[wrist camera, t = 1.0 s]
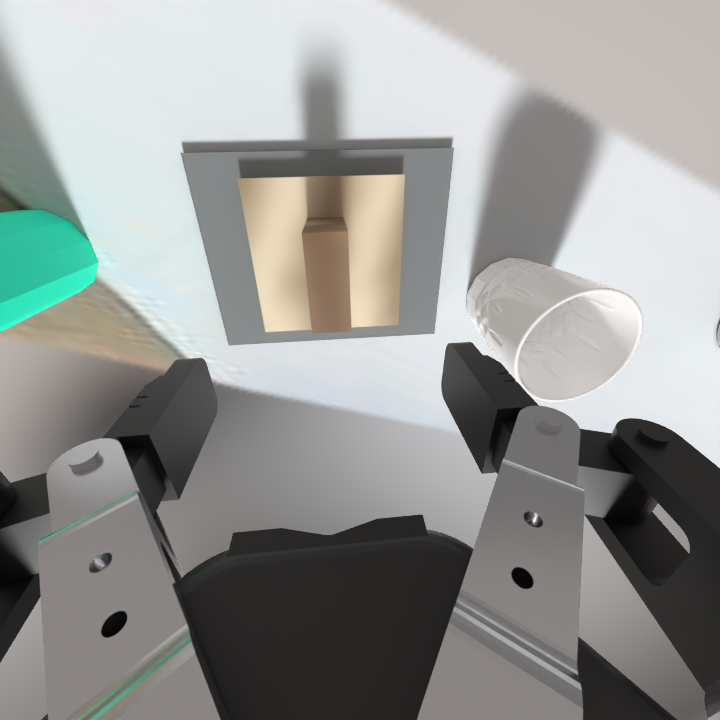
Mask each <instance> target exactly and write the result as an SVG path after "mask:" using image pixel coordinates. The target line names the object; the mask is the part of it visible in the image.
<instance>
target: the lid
mask: <svg viewBox="0 0 720 720" xmlns="http://www.w3.org/2000/svg"><path fill="white" fill-rule="evenodd" d="M238 185H239V190H240V196H241V201H242V207H243V212H244V218H245V223H246V228H247V234H248V239H249V245H250V250H251V256H252V261H253V267H254V272H255V278H256V283H257V289H258V294H259V300H260V305H261V311H262V316H263V322H264V327H265V332H278V331H296V330H312V334H313V333H331V332H349V331H352V329H351V327H370V326H388V325H398V323H399V300H400V277H401V254H402V231H403V208H404V185H405V174H392V175H351V176H309V177H268V178H238Z"/></svg>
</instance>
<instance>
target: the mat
mask: <svg viewBox="0 0 720 720" xmlns="http://www.w3.org/2000/svg"><path fill="white" fill-rule="evenodd" d="M453 151H454V148H413V149H360V150H307V151H254V152H201V153H181V156H182V160H183V164H184V168H185V172H186V176H187V180H188V184H189V188H190V192H191V196H192V200H193V204H194V208H195V212H196V216H197V220H198V224H199V228H200V232H201V236H202V240H203V244H204V248H205V252H206V256H207V260H208V264H209V268H210V272H211V276H212V280H213V284H214V288H215V292H216V296H217V300H218V304H219V308H220V312H221V316H222V320H223V324H224V328H225V332H226V336H227V340H228V344H229V345H241V344H259V343H277V342H294V341H312V340H330V339H347V338H365V337H383V336H400V335H418V334H434V331H435V322H436V312H437V303H438V293H439V284H440V274H441V265H442V255H443V246H444V236H445V227H446V217H447V208H448V198H449V189H450V179H451V170H452V160H453ZM392 174H405V185H404V208H403V231H402V254H401V277H400V300H399V323H398V325H388V326H370V327H351V329H352V331H349V332H331V333H313V334H312V330H296V331H278V332H265V327H264V322H263V316H262V311H261V305H260V300H259V294H258V289H257V283H256V278H255V272H254V267H253V261H252V256H251V250H250V245H249V239H248V234H247V228H246V223H245V218H244V212H243V207H242V201H241V196H240V190H239V185H238V178H268V177H309V176H351V175H392Z"/></svg>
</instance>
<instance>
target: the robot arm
mask: <svg viewBox="0 0 720 720" xmlns="http://www.w3.org/2000/svg"><path fill="white" fill-rule="evenodd" d="M717 341H718V344H719V347H720V324H719V328H718V332H717ZM441 387H442V395H443V398H444V400H445V402H446V404H447V406H448V408H449V410H450V412H451V414H452V416H453V418H454V420H455V422H456V424H457V426H458V428H459V430H460V432H461V434H462V436H463V438H464V440H465V442H466V444H467V446H468V447H469V449H470V451H471V453H472V455H473V457H474V459H475V461H476V463H477V465H478V467H479V469H480V471H481V473H482V474H483V473H494V472H497V474H498V476H497V479H496V482H495V485H494V488H493V491H492V494H491V497H490V501H489V503H488V506H487V509H486V512H485V516H484V519H483V522H482V525H481V528H480V531H479V534H478V537H477V540H476V543H475V546H474V549H473V548H471V547H470V546H468V545H467V544H465V543H463V542H461V541H459V540H458V539H456V538H453V537H451V536H448V535H446V534H443V533H439V532H436V531H432V530H426V526H425V522H424V519H423V515H412V516H402V517H392V518H381V519H376V520H373V521H370V522H367V523H365V524H362V525H359V526H356V527H353V528H351V529H348V530H345V531H342V532H340V533H336V534H333V535H321V534H314V533H308V532H302V531H295V530H288V529H283V528H280V529H269V530H258V531H247V532H237V533H233V536H232V540H231V544H230V548H229V550H227V551H224V552H222V553H220V554H218V555H216V556H213V557H211V558H210V559H208V560H206V561H204V562H203V563H201V564H199V565H198V566H196V567H195V568H194V569H192V570H191V571H190V572H188V573H187V574H186V575H184V573H183V571H182V568H181V566H180V564H179V562H178V559H177V557H176V555H175V552H174V550H173V548H172V545H171V543H170V540H169V538H168V536H167V533H166V531H165V528H164V526H163V524H162V521H161V519H160V517H159V515H158V513H157V511H156V510H157V508H158V506H159V504H160V502H161V501H168V500H179V499H180V496H181V494H182V492H183V489H184V487H185V485H186V483H187V480H188V478H189V475H190V473H191V471H192V469H193V467H194V464H195V462H196V460H197V458H198V455H199V453H200V451H201V448H202V446H203V444H204V442H205V439H206V437H207V435H208V432H209V430H210V428H211V426H212V423H213V421H214V419H215V417H216V413H217V397H216V394H215V391H214V387H213V384H212V381H211V377H210V374H209V371H208V367H207V364H206V362H205V360H204V359H202V358H194V359H178V360H176V361H175V362H174V363H173V364H172V365H171V367H170V368H169V369H168V371H167V372H166V373H165V374H164V376H159V377H158V378H156V379H155V380H153V381H152V382H150V383H149V384H147V385H146V386H145V387H144V388H143V389H142V390H141V392H140V393H139V394H138V395H137V399H134V401H132V403H131V404H130V405H129V408H127V409H126V410H125V411H124V412H123V414H122V415H121V416H120V417H119V419H118V420H117V421H116V422H115V423H114V425H113V426H112V427H111V428H110V430H109V431H108V432H107V433H106V434H105V436H104V437H103V438H102V439H97V440H92V441H89V442H86V443H83V444H81V445H79V446H76V447H74V448H73V449H71V450H69V451H67V452H66V453H64V454H63V455H62V456H60V457H59V458H58V459H57V460H56V461H55V462H54V463H53V464H52V465H51V466H50V468H49V469H48V472H47V473H44V474H40V475H37V476H34V477H30V478H26V479H23V480H20V481H16V482H13V483H10V482H9V481H8V479H7V478H6V477H5V476H4V475H3V473H2V472H0V662H1V661H2V659H3V657H4V656H5V654H6V652H7V651H8V649H9V647H10V646H11V644H12V642H13V641H14V639H15V638H16V636H17V634H18V633H19V631H20V629H21V628H22V626H23V624H24V622H25V621H26V619H27V618H28V616H29V614H30V613H31V611H32V610H33V608H34V606H35V605H36V603H37V601H38V600H39V598H40V597H41V609H42V624H43V625H42V626H43V641H44V658H45V673H46V691H47V706H48V714H47V715H46V716H45V717H44V718H43V719H42V720H677V719H676V718H675V717H673V716H672V715H671V714H670V713H669V712H667V711H666V710H665V709H664V708H662V707H661V706H660V705H659V704H658V703H656V701H654V700H653V699H652V698H651V697H650V696H648V695H647V694H646V693H645V692H643V691H642V690H641V689H640V688H639V687H638V686H636V685H635V684H634V683H633V682H632V681H631V680H629V679H628V678H627V677H626V676H625V675H623V674H622V673H621V672H620V671H618V669H616V668H615V667H614V666H613V665H612V664H610V663H609V662H608V661H607V660H606V659H605V658H603V657H602V656H601V655H600V654H599V653H597V652H596V651H595V650H594V649H593V648H591V647H590V646H589V645H588V644H587V643H586V642H584V641H583V640H582V639H581V638H580V637H578V630H579V608H580V587H581V586H580V585H581V565H582V544H583V524H584V515H585V516H586V517H587V519H588V520H589V522H590V523H591V525H592V526H593V528H594V529H595V531H596V532H597V534H598V535H599V537H600V538H601V540H602V541H603V542H604V544H605V545H606V547H607V548H608V550H609V551H610V553H611V554H612V556H613V557H614V559H615V560H616V562H617V563H618V565H619V566H620V567H621V569H622V571H623V572H624V573H625V575H626V577H627V578H628V579H629V581H630V582H631V584H632V585H633V587H634V588H635V590H636V591H637V593H638V594H639V595H640V597H641V599H642V600H643V602H644V603H645V605H646V606H647V608H648V609H649V610H650V612H651V613H652V615H653V616H654V618H655V619H656V621H657V622H658V624H659V625H660V627H661V628H662V630H663V631H664V632H665V634H666V636H667V637H668V638H669V640H670V641H671V643H672V644H673V646H674V647H675V649H676V650H677V652H678V653H679V655H680V656H681V658H682V659H683V661H684V662H685V663H686V665H687V667H688V668H689V669H690V671H691V672H692V674H693V675H694V677H695V678H696V680H697V681H698V683H699V684H700V686H701V687H702V689H703V690H704V692H705V694H704V706H705V711H706V715H707V718H708V720H720V468H719V467H717V466H716V465H715V464H714V463H712V462H711V461H710V460H709V459H708V458H706V457H705V456H704V455H703V454H701V453H700V452H699V451H698V450H696V449H695V448H694V447H693V446H692V445H690V444H689V443H688V442H687V441H685V440H684V439H683V438H682V437H680V436H679V435H678V434H676V433H675V432H673V431H672V430H670V429H668V428H666V427H664V426H661V425H659V424H656V423H654V422H650V421H647V420H642V419H632V418H629V419H623V420H621V421H619V422H618V423H617V424H616V426H615V428H614V431H613V433H605V432H598V431H591V430H584V429H580V428H579V426H578V424H577V423H576V422H575V421H574V420H573V419H572V418H571V417H569V416H568V415H566V414H564V413H563V412H560V411H558V410H556V409H553V408H549V407H544V406H539V405H538V404H537V403H536V402H535V401H534V400H533V399H532V398H531V396H530V395H529V394H528V393H527V392H526V391H525V390H524V389H523V388H522V386H521V385H520V384H519V383H518V382H516V381H515V379H514V377H513V376H512V375H511V374H509V372H508V371H507V370H506V368H505V367H504V366H503V365H502V364H501V363H500V362H498V361H496V360H495V359H493V358H491V357H489V356H488V355H484V356H483V355H482V354H481V353H480V352H479V350H478V349H477V348H476V347H475V346H474V344H473V343H471V342H463V343H449V344H448V345H447V347H446V351H445V359H444V367H443V375H442V383H441ZM658 503H659V504H660V505H661V506H662V508H663V509H664V510H665V511H666V512H667V513H668V514H669V515H670V516H671V517H672V518H673V520H674V521H675V522H676V523H677V524H678V525H679V526H680V527H681V528H682V530H683V531H684V532H685V534H686V536H687V538H688V540H689V544H690V553H688V552H687V551H686V550H685V549H684V548H683V546H682V545H681V544H680V543H679V542H678V541H677V540H676V538H675V537H674V536H673V535H672V534H671V533H670V532H669V530H668V529H667V528H666V527H665V526H664V525H663V524H662V522H661V521H660V520H659V519H658V518H657V517H656V516H655V514H653V512H652V511H653V510H654V508H655V507H656V505H657V504H658Z"/></svg>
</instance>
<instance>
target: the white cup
mask: <svg viewBox="0 0 720 720" xmlns="http://www.w3.org/2000/svg"><path fill="white" fill-rule="evenodd" d="M466 311H467V313H468V315H469V317H470V319H471V321H472V323H473V324H474V326H475V327H476V328H477V329H478V331H479V333H480V334H481V336H482V337H483V339H484V340H485V342H486V343H487V344H488V346H489V347H490V349H491V350H492V351H493V353H494V354H495V355H496V356H497V358H498V359H499V360H500V361H501V363H502V364H503V365H504V367H505V368H506V369H507V370H508V372H509V373H510V374H511V375H512V376H513V377H514V379H515V381H516V382H518V383H519V384H520V385H521V386H522V388H523V389H524V390H525V391H526V392H527V393H528V394H529V395H530V396H532V397H534V398H536V399H539V400H543V401H549V402H560V401H567V400H572V399H576V398H579V397H582V396H584V395H587V394H589V393H591V392H593V391H595V390H597V389H598V388H600V387H602V386H603V385H605V384H606V383H608V382H609V381H610V380H611V379H613V378H614V377H615V376H616V375H617V374H618V373H619V372H620V371H621V370H622V369H623V368H624V367H625V366H626V364H627V363H628V362H629V361H630V359H631V358H632V356H633V355H634V353H635V351H636V349H637V347H638V345H639V342H640V340H641V336H642V332H643V316H642V312H641V310H640V307H639V306H638V304H637V303H636V301H635V300H634V299H633V298H632V297H630V296H629V295H628V294H626V293H624V292H622V291H619V290H616V289H613V288H611V287H608V286H605V285H602V284H599V283H596V282H594V281H591V280H588V279H585V278H582V277H580V276H577V275H574V274H571V273H569V272H566V271H562V270H559V269H555V268H553V267H550V266H547V265H543V264H539V263H535V262H532V261H530V260H527V259H519V258H506V259H503V260H500V261H498V262H495V263H492V264H490V265H489V266H488V267H487V268H485V269H484V270H483V271H482V272H481V273H480V274H479V275H478V276H476V278H475V279H474V281H473V283H472V285H471V287H470V289H469V291H468V293H467V306H466Z"/></svg>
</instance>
